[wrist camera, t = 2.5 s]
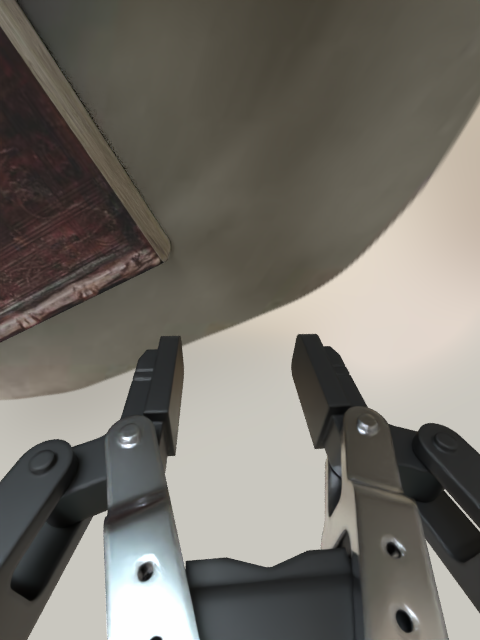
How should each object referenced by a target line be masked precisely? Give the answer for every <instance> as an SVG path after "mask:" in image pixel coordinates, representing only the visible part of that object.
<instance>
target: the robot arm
mask: <svg viewBox="0 0 480 640" xmlns="http://www.w3.org/2000/svg"><path fill="white" fill-rule="evenodd" d="M291 370H292V376H293V380H294V383H295V386H296V389H297V393H298V396H299V399H300V403H301V406H302V409H303V412H304V416H305V419H306V422H307V425H308V429H309V432H310V435H311V438H312V441H313V445H314V448H315V449H322V448H325V451H326V453H327V459H326V462H325V522H324V529H323V534H322V541H321V550H309V551H306V552H304V553H301V554H299V555H297V556H295V557H293V558H291V559H288V560H286V561H284V562H282V563H280V564H277V565H275V566H273V567H263V566H258V565H255V564H251V563H247V562H243V561H238V560H234V559H230V558H217V559H205V560H192V561H186V569H185V567H184V562H183V557H182V553H181V548H180V543H179V539H178V534H177V529H176V525H175V520H174V515H173V511H172V506H171V501H170V496H169V492H168V487H167V482H166V477H165V469H166V463H167V456H175V453H176V444H177V434H178V426H179V416H180V407H181V397H182V389H183V379H184V364H183V353H182V343H181V337H180V336H161V338H160V342H159V346H158V349H154V350H146V351H145V353H144V354H143V355H142V356H141V357H140V358H139V360H138V363H137V366H136V370H135V373H134V376H133V381H132V384H131V386H130V390H129V393H128V397H127V400H126V403H125V406H124V410H123V413H122V416H121V419H120V420H119V421H117V422H116V423H115V424H114V425H112V427H111V428H110V429H109V430H108V432H107V434H105V435H104V436H102V437H100V438H97V439H95V440H92V441H89V442H86V443H83V444H80V445H77V446H74V447H71V445H70V444H69V443H68V442H66V441H64V440H59V439H56V440H55V439H54V440H48V441H45V442H42V443H40V444H38V445H36V446H34V447H32V448H31V449H30V450H28V451H27V452H26V453H25V454H24V455H23V456H22V457H21V458H20V459H19V460H18V461H17V463H16V464H15V465H14V466H13V467H12V469H11V470H10V471H9V472H8V473H7V474H6V476H5V477H4V478H3V479H2V480H1V482H0V640H27V639H28V637H29V635H30V633H31V631H32V629H33V628H34V626H35V624H36V622H37V620H38V618H39V616H40V614H41V613H42V611H43V609H44V607H45V605H46V603H47V601H48V600H49V598H50V596H51V594H52V592H53V590H54V588H55V586H56V585H57V583H58V581H59V579H60V577H61V575H62V573H63V571H64V569H65V568H66V566H67V564H68V562H69V560H70V558H71V557H72V555H73V553H74V551H75V549H76V547H77V545H78V543H79V541H80V540H81V538H82V536H83V534H84V532H85V530H86V529H87V527H88V525H89V523H90V521H91V519H92V517H93V516H94V515H97V514H99V513H102V512H104V511H106V510H108V514H107V517H105V520H104V559H105V586H106V611H107V637H108V638H107V639H108V640H449V638H448V634H447V630H446V625H445V621H444V617H443V613H442V608H441V604H440V600H439V596H438V591H437V587H436V583H435V578H434V574H433V570H432V565H431V561H430V557H429V552H428V548H427V544H426V540H427V541H428V543H429V544H430V545H431V547H432V548H433V550H434V551H435V552H436V554H437V555H438V557H439V558H440V559H441V561H442V562H443V563H444V565H445V566H446V567H447V569H448V570H449V572H450V573H451V574H452V576H453V577H454V578H455V580H456V581H457V582H458V584H459V585H460V587H461V588H462V589H463V591H464V592H465V594H466V595H467V596H468V598H469V599H470V600H471V602H472V603H473V604H474V606H475V607H476V609H477V610H478V611H479V613H480V532H479V530H478V529H477V528H476V527H475V526H474V525H473V524H472V522H471V521H470V520H469V519H468V518H467V517H466V515H465V514H464V513H463V512H462V511H461V510H460V509H459V507H458V506H457V505H456V504H455V503H454V502H453V501H452V499H451V498H450V497H449V496H448V495H447V494H446V492H445V491H444V489H446V490H447V492H448V493H449V494H450V495H451V496H452V497H453V498H454V500H455V501H456V502H457V503H458V504H459V505H460V506H461V507H462V509H463V510H464V511H465V512H466V513H467V514H468V515H469V517H470V518H471V519H472V520H473V521H474V522H475V523H476V524H477V526H478V527H479V528H480V454H479V453H478V452H477V451H476V450H475V449H474V448H472V447H471V446H470V445H469V444H468V443H467V442H466V441H465V440H464V439H463V438H462V437H461V436H459V435H458V434H457V433H456V432H454V431H453V430H451V429H449V428H448V427H445V426H443V425H439V424H435V423H428V424H425V425H423V426H421V427H420V429H419V431H418V432H417V431H413V430H409V429H404V428H401V427H396V426H393V425H390V424H388V423H387V421H386V420H385V419H384V418H383V417H382V416H381V415H380V414H379V413H377V412H376V411H374V410H372V409H370V408H368V407H367V405H366V404H365V402H364V400H363V398H362V396H361V394H360V392H359V390H358V388H357V387H356V385H355V383H354V381H353V379H352V377H351V375H349V372H348V370H347V368H346V367H345V364H344V362H343V360H342V358H341V356H340V355H339V354H338V353H337V352H336V351H335V350H334V349H332V348H331V347H330V346H323V344H322V343H321V340H320V338H319V336H318V335H317V334H299V335H298V336H297V338H296V343H295V348H294V353H293V358H292V365H291ZM425 539H426V540H425Z"/></svg>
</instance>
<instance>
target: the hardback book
mask: <svg viewBox="0 0 480 640" xmlns="http://www.w3.org/2000/svg"><path fill="white" fill-rule="evenodd" d="M170 250H171V243H170V241H169V239H168V237H167V236H166V234H165V233H164V231H163V230H162V228H161V226H160V225H159V223H158V222H157V220H156V219H155V217H154V216H153V214H152V212H151V211H150V209H149V208H148V206H147V205H146V203H145V201H144V200H143V198H142V197H141V195H140V194H139V192H138V191H137V189H136V187H135V186H134V184H133V183H132V181H131V180H130V178H129V176H128V175H127V173H126V172H125V170H124V169H123V167H122V166H121V164H120V162H119V161H118V159H117V158H116V156H115V155H114V153H113V151H112V150H111V148H110V147H109V145H108V144H107V142H106V141H105V139H104V137H103V136H102V134H101V133H100V131H99V130H98V128H97V126H96V125H95V123H94V122H93V120H92V119H91V117H90V116H89V114H88V112H87V111H86V109H85V108H84V106H83V105H82V103H81V101H80V100H79V98H78V97H77V95H76V94H75V92H74V91H73V89H72V87H71V86H70V84H69V83H68V81H67V80H66V78H65V76H64V75H63V73H62V72H61V70H60V69H59V67H58V66H57V64H56V62H55V61H54V59H53V58H52V56H51V55H50V53H49V51H48V50H47V48H46V47H45V45H44V44H43V42H42V41H41V39H40V37H39V36H38V34H37V33H36V31H35V30H34V28H33V26H32V25H31V23H30V22H29V20H28V19H27V17H26V16H25V14H24V12H23V11H22V9H21V8H20V6H19V5H18V3H17V1H16V0H0V342H2V341H4V340H6V339H8V338H10V337H13V336H15V335H17V334H19V333H21V332H23V331H25V330H27V329H29V328H31V327H33V326H35V325H37V324H39V323H41V322H43V321H45V320H47V319H49V318H51V317H53V316H56V315H58V314H60V313H62V312H64V311H66V310H68V309H70V308H72V307H74V306H76V305H78V304H80V303H82V302H84V301H86V300H88V299H90V298H92V297H94V296H97V295H99V294H101V293H103V292H105V291H107V290H109V289H111V288H113V287H115V286H117V285H119V284H121V283H123V282H125V281H127V280H129V279H131V278H133V277H135V276H137V275H140V274H142V273H144V272H146V271H148V270H150V269H152V268H154V267H156V266H158V265H160V264H162V263H164V262H165V261H167V260H168V257H169V253H170Z"/></svg>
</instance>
